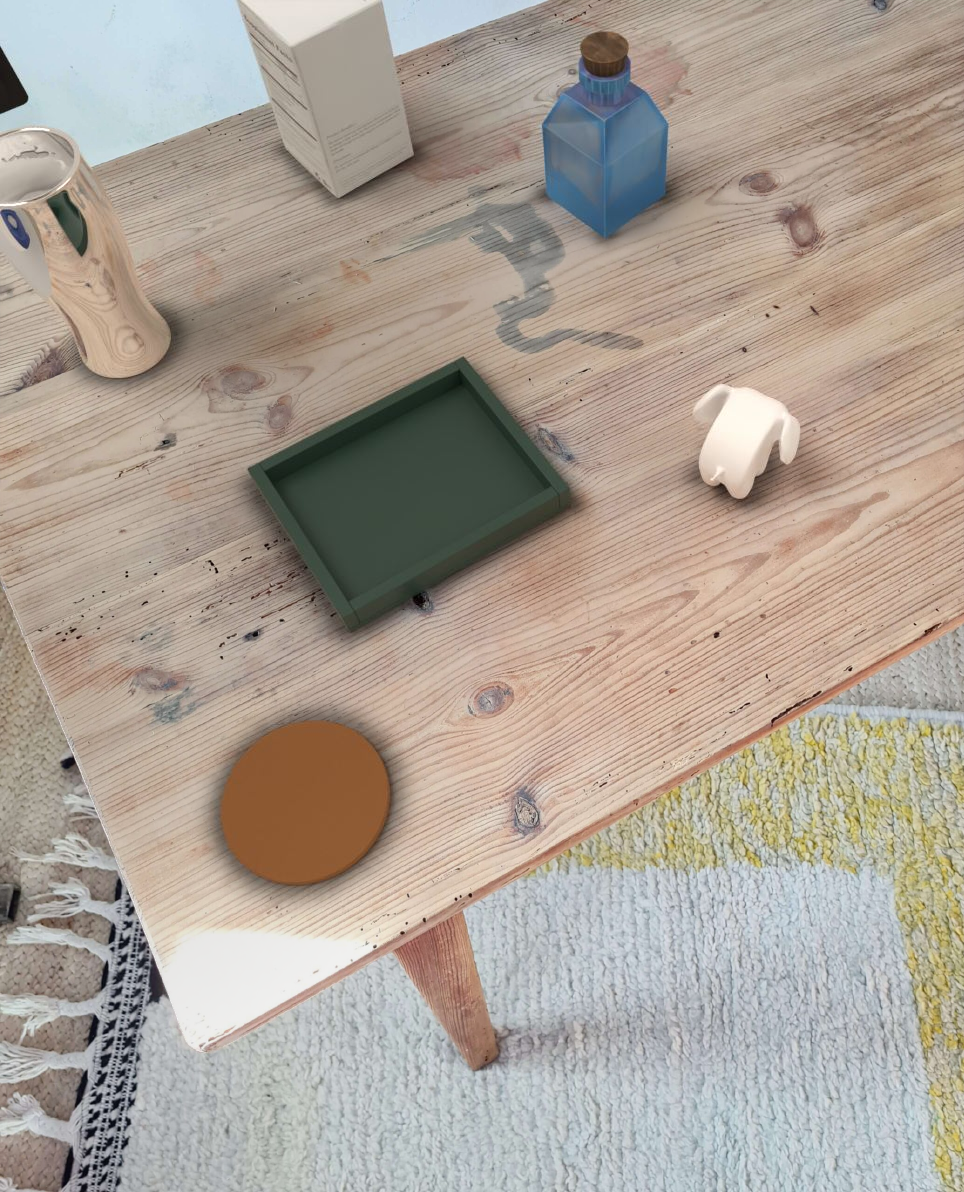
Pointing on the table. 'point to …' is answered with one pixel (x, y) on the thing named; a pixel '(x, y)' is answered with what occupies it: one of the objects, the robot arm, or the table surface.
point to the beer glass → (75, 251)
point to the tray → (408, 491)
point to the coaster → (305, 802)
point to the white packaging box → (331, 86)
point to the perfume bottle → (605, 140)
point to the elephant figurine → (742, 436)
